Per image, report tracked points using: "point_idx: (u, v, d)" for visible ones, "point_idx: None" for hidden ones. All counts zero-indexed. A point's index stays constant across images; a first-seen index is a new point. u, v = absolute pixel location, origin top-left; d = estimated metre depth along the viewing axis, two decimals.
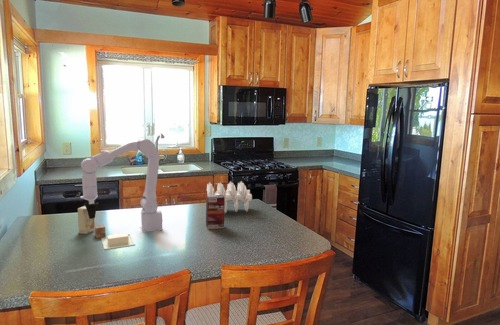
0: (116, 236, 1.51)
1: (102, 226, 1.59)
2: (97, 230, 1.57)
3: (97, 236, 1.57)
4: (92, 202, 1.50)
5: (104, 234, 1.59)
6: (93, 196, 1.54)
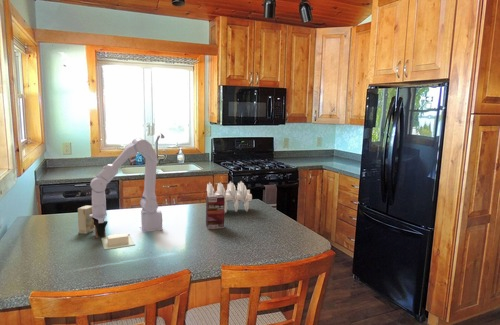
0: (116, 236, 1.51)
1: None
2: None
3: (97, 236, 1.57)
4: (101, 221, 1.52)
5: (104, 234, 1.59)
6: (102, 215, 1.56)
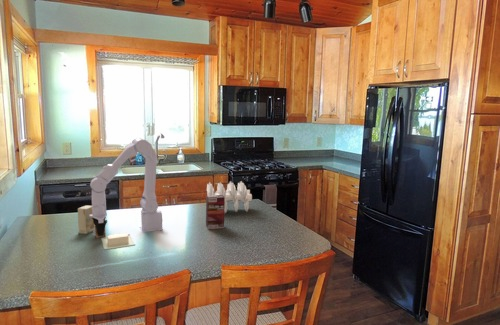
0: (116, 236, 1.51)
1: None
2: None
3: (97, 236, 1.57)
4: (101, 221, 1.52)
5: (104, 234, 1.59)
6: (102, 215, 1.56)
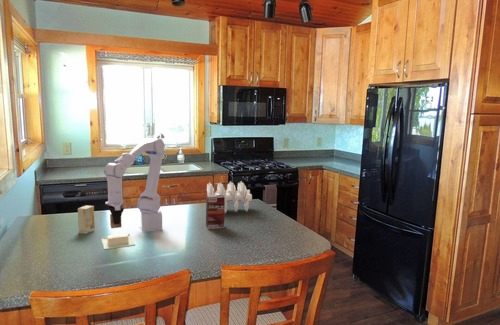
0: (116, 236, 1.51)
1: None
2: (112, 219, 1.48)
3: (113, 225, 1.49)
4: (118, 208, 1.44)
5: (120, 223, 1.50)
6: (119, 202, 1.48)
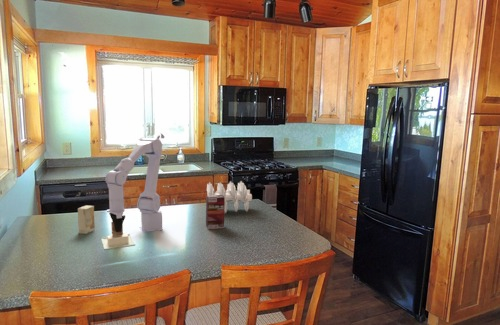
0: (116, 236, 1.51)
1: None
2: (114, 227, 1.48)
3: (114, 233, 1.49)
4: (120, 216, 1.44)
5: (121, 231, 1.50)
6: (120, 210, 1.48)
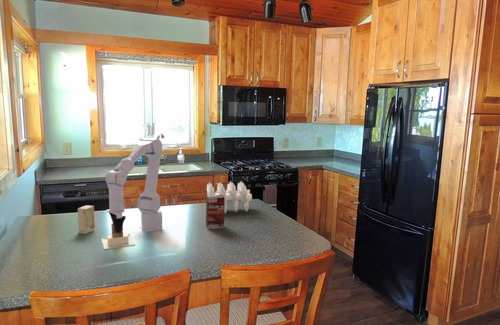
0: None
1: None
2: (114, 229, 1.49)
3: (114, 235, 1.49)
4: (120, 216, 1.44)
5: (121, 233, 1.50)
6: (120, 210, 1.48)
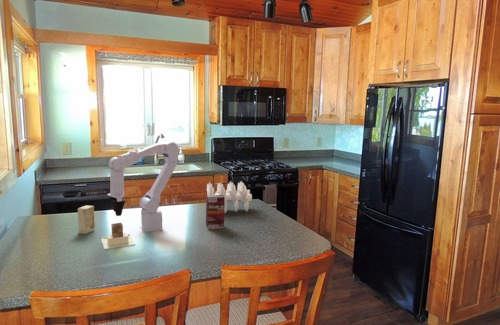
0: None
1: (119, 224, 1.51)
2: (114, 229, 1.49)
3: (114, 235, 1.49)
4: (120, 200, 1.54)
5: (121, 233, 1.50)
6: (120, 194, 1.58)
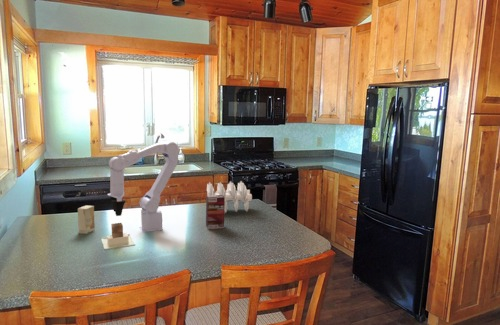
0: None
1: (119, 224, 1.51)
2: (114, 229, 1.49)
3: (114, 235, 1.49)
4: (120, 199, 1.54)
5: (121, 233, 1.50)
6: (120, 194, 1.58)
